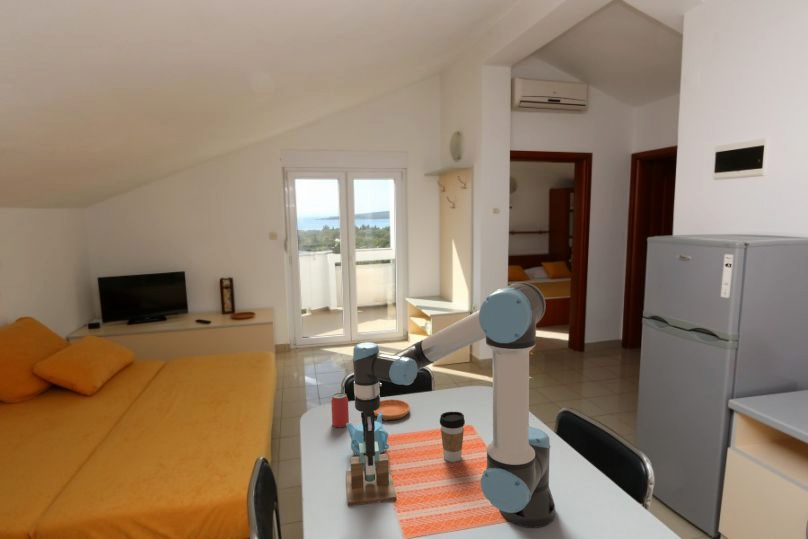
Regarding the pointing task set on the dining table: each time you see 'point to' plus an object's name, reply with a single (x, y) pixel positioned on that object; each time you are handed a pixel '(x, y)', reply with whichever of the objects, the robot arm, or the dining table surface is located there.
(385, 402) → the saucer
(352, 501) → the bracket
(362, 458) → the peg
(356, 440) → the teapot
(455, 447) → the coffee cup
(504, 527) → the dining table surface
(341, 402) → the beer can
